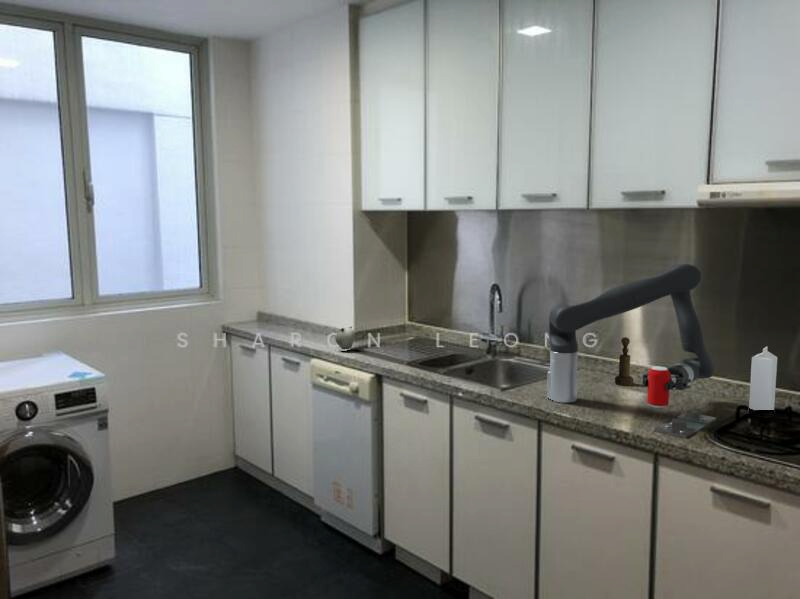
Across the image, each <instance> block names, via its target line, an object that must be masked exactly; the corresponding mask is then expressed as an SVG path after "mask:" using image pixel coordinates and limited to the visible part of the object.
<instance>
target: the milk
mask: <svg viewBox="0 0 800 599" xmlns="http://www.w3.org/2000/svg"><path fill="white" fill-rule="evenodd" d="M768 347H769V346H765V347H764V348H762V352H761V353H756V355H753V356H752V357H751V368H750V381H749V382H750V385H749V400H748V402H749V403H748V409H749V408H750V409H753V410H774V411H775V403H776V401H775V400H776V399H775V398H776V388H777V387H776V384H777V369H778V356H776V355H775V354H773V353H772V352H770V351H768V349H769V348H768Z"/></svg>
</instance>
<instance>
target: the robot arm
mask: <svg viewBox="0 0 800 599" xmlns="http://www.w3.org/2000/svg"><path fill="white" fill-rule="evenodd" d="M701 280H702V273H701V271H700V269H699V268H698V267H697V266H695V265H693V264H690V263H682V264H681V263H680V264H674V265H672V266H670V267H669V268H668V269H667V271H666V272H664V273H662V274H660V275H657V276H652V277H649V278H644V279H643V278H642V279H638V280H634V281H630V282H626V283H623V284H620V285H617V286H614V287H612V288H610V289H607V290H606V291H604V292H603V293H601V294H599V295H598V296H596V297H595V298H593V299H591V300H589V301H586V302H581V303H578V304H575V305H569V304H566V303H560V304H557V305H555V306H554V307H553V308H552V309H551V311H550V312H549V318H548V339H549V340H548V341H549V345H550V346H549V347H550V350H549V351H550V353H549V356H550V357H549V362H550V364H549V367H550V368H549V371H547V375H546V376H547V377H546V379H547V380H546V382H547V383H546V384H547V385H546V399H548V398H549V399H548V400H550V399H551V400H550V401H552V400H553V401H552V402H556V403H573V402H574V403H575V402H577V401H578V400H577V396H578V394H577V393H578V368H579V367H578V362H579V361H578V358H579V343H578V340H577V336H576V333H577V332H576V331H578V330H580V329H582V328H585V327H586V326H588V325H591V324H593V323H595V322H597V321H601V320H605V319H608V318H611V317H615V316H618V315H620V314H621V315H622V314H624V313H627V312H630V311H633V310H637V309H638V308H640V307H644V306H645V305H648V304H651V303H653V302H655V301H658V300H660V299H662V298H665V297H668V296H670V298H671V301H672V303H673V307H674V311H675V315H676V320H677V325H678V329H679V330H678V331H679V336H680V344H681V348H682V350H683V351H684V352H688V353H693V354H694V355H696V357H690V358H684V359H682V360H681V361H680V363H675V364H672V365H669V366H667V367H666V368H667V369H668V370H669V372H670V382H668V383H666V385H665V390H667V391H668V390H669V391H670V390H672V391H677V390H679V391H684V390H687V389H691V386H692V383H693V382H695V381H696V380H699V379H700V380H701V379H710V378H712V377H713V375H714V374H715V365H714V363H713V360H712V358H711V356H710V353H709V352H708V350H707V348H706V344H705V341H704V340H705V339H704V335H703V329H702V325H701V322H700V319H699V317H698V315H697V312H696V310H695V306H694V304H693V301H692V297H691V291H692V290H694V289H696V287H697V286H698V285H700V283H701ZM648 375H649V371H647V372H646V373H644V374H643V375H642V385H643V386H644V387H648Z"/></svg>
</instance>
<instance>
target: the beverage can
mask: <svg viewBox="0 0 800 599" xmlns="http://www.w3.org/2000/svg"><path fill="white" fill-rule="evenodd" d="M648 372H649V375H648V386H647V394H646V401H647V402H646V403H647V404H648V405H649V406H650V407H653V408H656V409H657V408H658V409H662V408H667V406H668V405H669V402H670V401H669V400H670V390H668V391H667V390H665V385H666V383H668V382H670V372H669V370H668V369H667V367H665V366H652V367H650V369H649V370H648Z"/></svg>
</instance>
